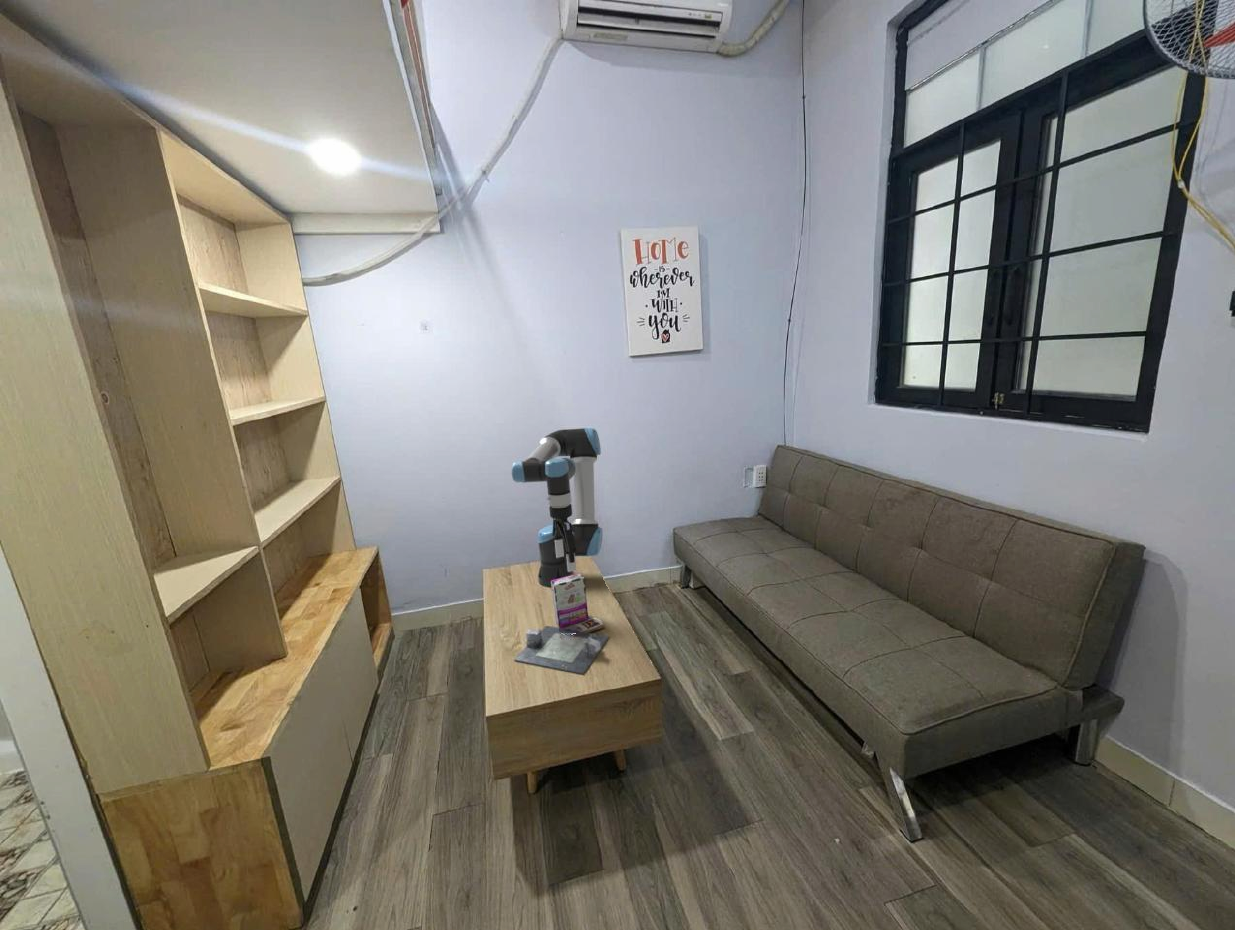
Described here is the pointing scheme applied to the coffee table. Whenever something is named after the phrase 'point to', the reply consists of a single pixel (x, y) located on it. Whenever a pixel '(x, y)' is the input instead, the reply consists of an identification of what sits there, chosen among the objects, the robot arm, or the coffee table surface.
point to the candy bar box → (569, 600)
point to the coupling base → (561, 649)
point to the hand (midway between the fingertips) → (565, 563)
